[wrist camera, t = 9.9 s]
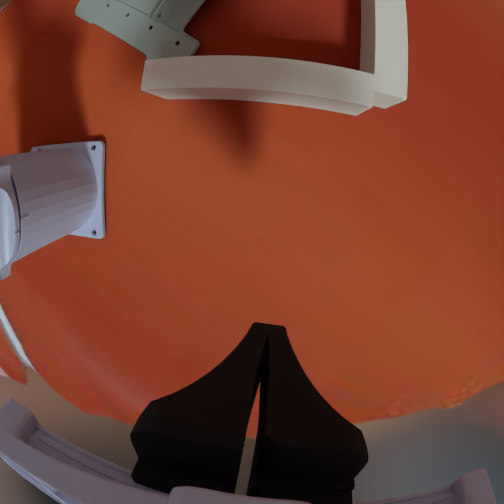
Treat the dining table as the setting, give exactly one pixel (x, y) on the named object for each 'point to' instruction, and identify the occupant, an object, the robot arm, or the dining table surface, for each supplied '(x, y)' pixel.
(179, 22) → the metal bracket
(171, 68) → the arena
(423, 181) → the dining table surface
